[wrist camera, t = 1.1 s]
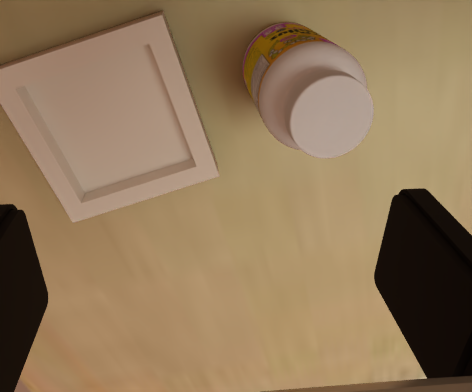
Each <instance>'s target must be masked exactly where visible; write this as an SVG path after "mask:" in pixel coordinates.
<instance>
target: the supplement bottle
mask: <svg viewBox="0 0 472 392" xmlns="http://www.w3.org/2000/svg"><path fill="white" fill-rule="evenodd" d="M243 78H244V82H245V85H246V87H247V90H248V92H249V93H250V95H251V97H252V99H253V101H254V103H255V105H256V107H257V109H258V111H259V113H260V115H261V117H262V119H263V122H264V123H265V125H266V127H267V129H268V130H269V132H270V133H271V134H272V135H273V136H274V137H275V138H276V139H277V140H278V141H280V142H281V143H283V144H284V145H286V146H288V147H291V148H294V149H297V150H302V151H303V152H305V153H306V154H308V155H310V156H313V157H317V158H334V157H338V156H341V155H343V154H346V153H347V152H349V151H351V150H352V149H354V148H355V147H356V146H358V145H359V143H360V142H361V141H362V140H363V139H364V138H365V136H366V135H367V133H368V131H369V129H370V127H371V124H372V120H373V113H374V107H373V101H372V98H371V95H370V93H369V91H368V90H367V82H366V77H365V74H364V72H363V69H362V68H361V66H360V64H359V63H358V61H357V60H356V59H355V58H354V57H353V56H352V55H351V54H350V53H349V52H347V51H346V50H345V49H343V48H341V47H339V46H338V45H336V44H334V43H333V42H331V41H329V40H328V39H326V38H324V37H322V36H321V35H319V34H317V33H316V32H314V31H312V30H311V29H309V28H307V27H305V26H303V25H300V24H297V23H290V22H285V23H278V24H274V25H272V26H269V27H267V28H266V29H264V30H263V31H261V32H260V33H259V34H258V35H257V36H256V37H255V38H254V39H253V40H252V41H251V43H250V44H249V46H248V48H247V50H246V53H245V56H244V60H243Z"/></svg>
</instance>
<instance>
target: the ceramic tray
mask: <svg viewBox="0 0 472 392" xmlns="http://www.w3.org/2000/svg"><path fill="white" fill-rule="evenodd" d="M0 104H1V105H2V107H3V109H4V110H5V112H6V114H7V115H8V117H9V119H10V120H11V122H12V124H13V125H14V127H15V128H16V130H17V132H18V133H19V135H20V137H21V138H22V140H23V142H24V143H25V145H26V147H27V148H28V150H29V151H30V153H31V155H32V156H33V158H34V160H35V161H36V163H37V165H38V166H39V168H40V170H41V171H42V173H43V174H44V176H45V178H46V179H47V181H48V183H49V184H50V186H51V188H52V189H53V191H54V193H55V194H56V196H57V197H58V199H59V201H60V202H61V204H62V206H63V207H64V209H65V211H66V212H67V214H68V216H69V217H70V219H71V220H72V222H73V223H74V222H78V221H81V220H84V219H87V218H90V217H93V216H96V215H100V214H103V213H106V212H109V211H112V210H115V209H118V208H122V207H125V206H128V205H131V204H134V203H137V202H140V201H143V200H147V199H150V198H153V197H156V196H159V195H162V194H165V193H169V192H172V191H175V190H178V189H181V188H184V187H187V186H191V185H194V184H197V183H200V182H203V181H206V180H209V179H213V178H216V177H219V171H218V166H217V162H216V159H215V156H214V153H213V151H212V148H211V145H210V142H209V139H208V136H207V134H206V131H205V128H204V125H203V122H202V119H201V117H200V114H199V111H198V108H197V105H196V102H195V100H194V97H193V94H192V91H191V88H190V85H189V83H188V80H187V77H186V74H185V71H184V68H183V66H182V63H181V60H180V57H179V54H178V51H177V49H176V46H175V43H174V40H173V37H172V34H171V32H170V29H169V26H168V23H167V20H166V17H165V15H164V12H163V11H160V12H157V13H154V14H151V15H148V16H145V17H142V18H139V19H136V20H133V21H130V22H127V23H124V24H121V25H118V26H115V27H112V28H109V29H106V30H103V31H100V32H97V33H95V34H92V35H89V36H86V37H83V38H80V39H77V40H74V41H71V42H68V43H65V44H62V45H59V46H56V47H53V48H50V49H47V50H44V51H41V52H38V53H35V54H32V55H29V56H26V57H23V58H20V59H17V60H14V61H11V62H8V63H5V64H2V65H0Z"/></svg>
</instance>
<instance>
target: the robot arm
mask: <svg viewBox="0 0 472 392" xmlns="http://www.w3.org/2000/svg"><path fill="white" fill-rule="evenodd" d="M374 279H375V284H376V286H377V288H378V290H379V292H380V294H381V296H382V297H383V299H384V301H385V303H386V305H387V306H388V308H389V310H390V312H391V314H392V315H393V317H394V319H395V321H396V323H397V325H398V326H399V328H400V330H401V332H402V334H403V335H404V337H405V339H406V341H407V343H408V344H409V346H410V348H411V350H412V352H413V353H414V355H415V357H416V359H417V361H418V362H419V364H420V366H421V368H422V370H423V371H424V373H425V375H426V377H427V379H415V380H402V381H389V382H376V383H363V384H350V385H337V386H324V387H311V388H299V389H287V390H274V391H262V392H472V235H471V234H470V233H469V232H468V231H467V230H466V229H465V228H464V227H463V226H462V225H461V224H460V223H459V222H458V221H457V220H456V219H455V218H454V217H453V216H452V215H451V214H450V213H449V212H448V211H447V210H446V209H445V208H444V207H443V206H442V205H441V204H440V203H439V202H438V201H437V200H436V199H435V198H434V197H433V195H432V194H431V193H430V192H429V191H428V190H426V189H403V190H401V191H400V192H399V194H398V195H395V196H394V197H393V199H392V202H391V207H390V211H389V215H388V219H387V223H386V227H385V231H384V236H383V240H382V244H381V248H380V252H379V256H378V260H377V265H376V269H375V274H374ZM47 304H48V291H47V288H46V284H45V281H44V277H43V274H42V270H41V267H40V263H39V260H38V257H37V253H36V250H35V246H34V243H33V239H32V236H31V232H30V229H29V225H28V222H27V219H26V215H25V213H24V211H23V210H17V208H16V207H15V205H13V204H6V205H0V392H14V390H15V387H16V385H17V383H18V380H19V377H20V375H21V372H22V370H23V367H24V364H25V362H26V359H27V357H28V354H29V351H30V349H31V346H32V344H33V341H34V339H35V336H36V333H37V331H38V328H39V326H40V323H41V320H42V318H43V315H44V313H45V310H46V307H47Z"/></svg>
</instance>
